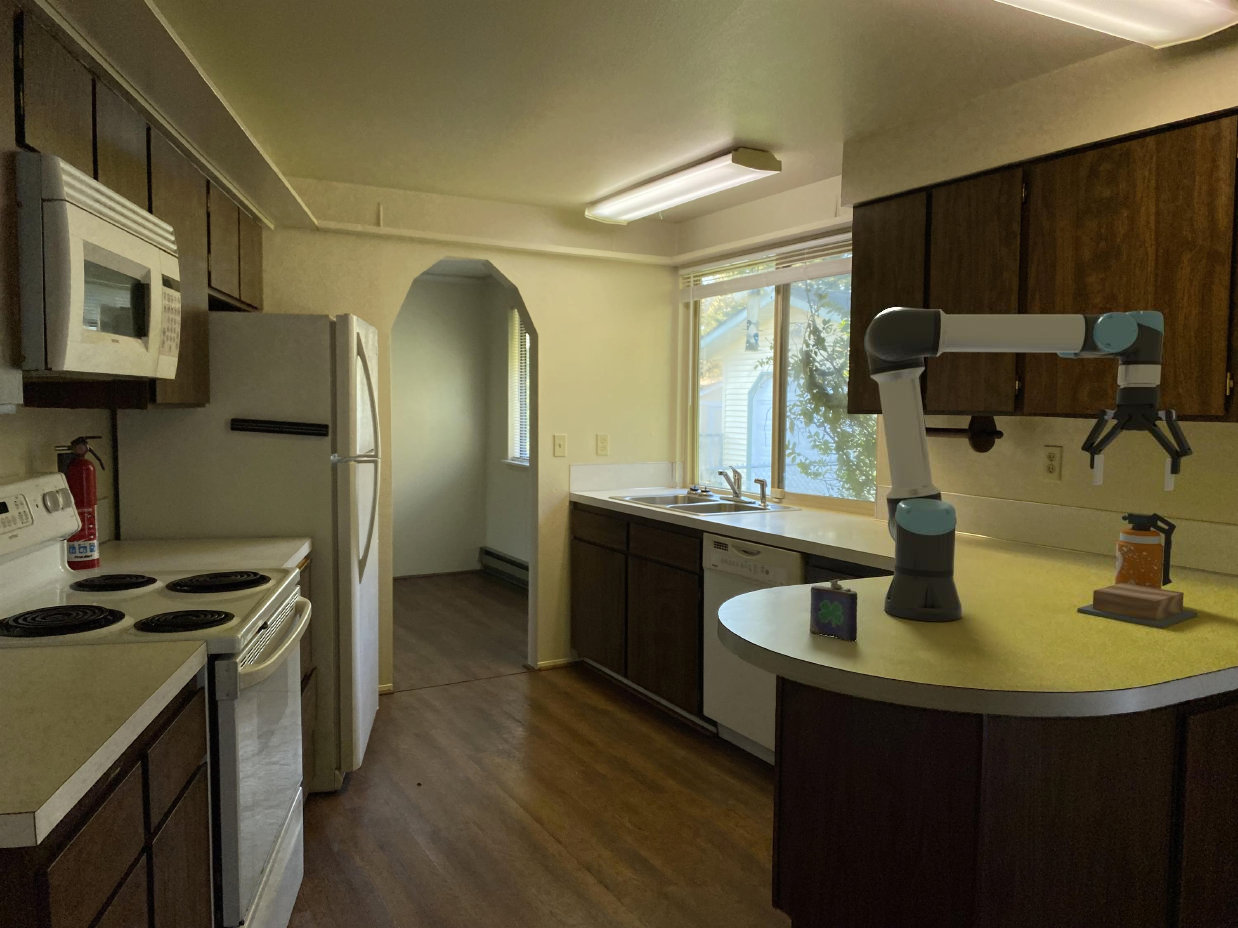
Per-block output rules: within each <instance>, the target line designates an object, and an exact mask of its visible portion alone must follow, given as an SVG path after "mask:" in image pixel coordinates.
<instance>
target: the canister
mask: <svg viewBox="0 0 1238 928" xmlns="http://www.w3.org/2000/svg"><path fill="white" fill-rule="evenodd" d="M1121 519H1122V520H1123V521H1126V522H1127V524H1128V525H1131V527H1125V528H1122V529H1121V531H1120V532H1119V533H1120V534H1119V540H1118V541H1117V542H1116V550H1115V551H1116V553H1115V571H1114V573H1115V574H1114V585H1116V584H1120V583H1126V584H1133V585H1139V586H1145V587H1151V588H1158V589H1162V587H1164V586H1168V585H1170V584H1172V583H1173V581H1172V580H1171V578H1170V574H1171V573H1170V570H1171V550H1172V547H1173V546H1172V545H1173V539H1172V536H1173V534H1174V532H1175V530H1176V528H1177V526H1176V524H1174V523H1173V522H1171V521H1169V520H1168V519H1166V518H1164V517H1163V516H1161V515H1160V514H1158V513H1156V512H1154V513H1152V514H1145V513H1144V514H1142V513H1133V512H1127V515H1126V514H1123V515H1121ZM1158 523H1161V524H1163V525H1164V526H1165V527H1164V526H1162V525H1160V524H1158ZM1166 527H1167V528H1166ZM1161 534H1163V535H1164V543H1163V544H1162V535H1161Z"/></svg>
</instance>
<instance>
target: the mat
mask: <svg viewBox="0 0 1238 928" xmlns="http://www.w3.org/2000/svg"><path fill="white" fill-rule="evenodd" d="M1076 612H1077V613H1081V614H1087V615H1091V616H1097V617H1102V618H1107V619H1110V620H1111V619H1112V620H1117V621H1123V622H1128V623H1133V624H1139V625H1142V626H1147V627H1148V626H1149V627H1154V628H1159V629H1164V628H1167V627H1170V626H1172V625H1176V624H1179V623H1182V622H1184V621H1187V620H1190V619H1192V618H1195V617H1198V611H1195V610H1193V611H1192V610H1188V609H1183V611H1182V612H1180V613H1177V614H1174V615H1171V616H1168V617H1165V618H1162V619H1159V620H1156V621H1154V620H1148V619H1143V618H1138V617H1132V616H1127V615H1122V614H1117V613H1111V612H1106V611H1101V610H1095V609H1093V603H1091V604H1087V605H1083V606H1081V607H1077V609H1076Z"/></svg>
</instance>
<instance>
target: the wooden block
mask: <svg viewBox="0 0 1238 928" xmlns="http://www.w3.org/2000/svg"><path fill="white" fill-rule="evenodd" d="M1092 593H1093V594H1092V596H1093V598H1092V604H1093V609H1095V610H1101V611H1106V612H1111V613H1117V614H1122V615H1127V616H1132V617H1138V618H1143V619H1148V620H1154V621H1156V620H1159V619H1162V618H1165V617H1168V616H1171V615H1174V614H1177V613H1180V612H1182V611H1183V610H1184V597H1185V596H1184V595H1185V594H1184V592H1183V591H1176V590H1175V591H1174V590H1169V589H1164V588H1163V589H1162V588H1161V589H1158V588H1151V587H1145V586H1139V585H1133V584H1126V583H1120V584H1116V585H1115V584H1114V585H1109V586H1105V587H1101V588H1098V589H1094V590H1093V592H1092Z"/></svg>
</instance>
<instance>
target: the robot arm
mask: <svg viewBox="0 0 1238 928" xmlns="http://www.w3.org/2000/svg"><path fill="white" fill-rule="evenodd" d="M1164 326H1165V325H1164V315H1163V313H1162V312H1160V311H1157V310H1137V311H1136V310H1135V311H1127V312H1121V311H1114V312H1113V311H1110V312H1107V313H1104V314H1098V313H1097V314H1091V313H1090V314H1080V313H1079V314H1077V313H1076V314H1071V313H1070V314H1068V313H1067V314H1061V313H1060V314H1058V313H1056V314H1055V313H1054V314H1049V313H1047V314H1044V313H1043V314H1042V313H1041V314H1039V313H1038V314H1036V313H1035V314H1033V313H1032V314H1030V313H1028V314H1025V313H1023V314H1021V313H1020V314H1019V313H1018V314H1009V313H1008V314H1001V313H1000V314H999V313H998V314H992V313H991V314H990V313H989V314H988V313H987V314H976V313H975V314H974V313H973V314H964V313H963V314H962V313H961V314H960V313H959V314H947V313H945V312H944V311H943V310H942V309H941V308H939V309H937V308H936V309H934V308H933V309H929V308H928V309H927V308H914V307H913V308H912V307H900V306H899V307H898V306H897V307H891V308H887V309H885V310H883V311H882V312H880V313H878V314H877V315H876V316H875V317H874V318H873V319H872V321H871V323H870V324H869V325H868V327H867V329H866V330H865V334H864V339H863V344H864V345H863V346H864V350H865V352H866V355H867V360H868V361H867V362H868V368H869V374H870V378H871V379H873V381H875V382H877V385H878V391H879V398H880V406H881V412H882V422H883V428H884V429H883V430H884V436H885V443H886V444H885V445H886V450H887V458H888V466H889V473H890V481H891V489H890V491H888V493H887V494H886V495H885V498H886V507H887V511H888V513H887V514H888V518H887V519H888V520H887V528H888V532H889V535H890V537H891V538H892V540H893V542H894V543H895V544H894V570H893V571H894V574H893V576H892V579H891V582H890V584H889V587H888V590H887V593H886V595H885V598H884V608H883V610H884V611H885V612H886V613H887V614H890V615H893V616H895V617H899V618H902V619H903V618H904V619H908V620H915V621H921V622H922V621H924V622H951V621H956V620H959V619H961V618H962V614H963V613H962V611H963V606H962V603H961V600H960V596H959V593H958V589H957V586H956V583H955V577H954V574H955V551H956V550H955V548H956V547H955V546H956V526H957V521H958V520H957V515H956V509H955V507H954V506H953V505H952V504H951V503H949V502H947V501H943V499H942V492H941V491H942V490H941V489H939V488H938V487H937V486H936V485H935V484H934V483H933V477H932V472H931V471H932V470H931V463H930V455H929V449H928V440H927V433H926V424H925V418H924V410H923V409H924V408H923V402H922V400H923V399H922V394H921V385H920V379H919V377H920V375H922V373H923V372H924V370H925V369H926V367H925V361H924V358H925V357H939V356H940V355H941V354H943V353H944V352H945V353H949V352H951V353H952V352H953V353H978V352H979V353H1056V354H1057V355H1058V356H1059V357H1061V358H1072V359H1078V358H1079V359H1084V358H1086V359H1087V358H1088V359H1090V358H1093V359H1094V358H1095V359H1096V358H1099V359H1100V358H1102V359H1103V358H1111V359H1115V358H1117V359H1118V365H1117V366H1118V371H1117V385H1119V386H1120V387H1118V388H1117V389H1116V403H1115V404H1116V408H1115V410H1110V409H1108V408H1105V409H1104V408H1102V409H1100V410H1098V411H1099V412H1098V417H1097V420H1096V421H1095V424H1094V425H1093V427H1092V428H1091V430H1090V432H1089V434H1088V435H1087V436H1086V439H1085V440H1084V442H1083V444H1082V445H1081V447H1080V449H1081V451H1083V452H1087V453H1088V454H1089V455H1090V456H1089V457H1090V458H1089V468H1090V470H1093V479H1092V480H1093V481H1092V482H1093V483H1092V485H1093V486H1100V485H1101V486H1102V485H1103V483H1104V482H1103V479H1104V465H1105V454H1102V452H1103V451H1104V450H1105V449H1106V448H1107V447H1108V446H1110V444H1111V443H1112V442H1113V441H1114V440H1115V439H1116V438H1117V437H1118V436H1119V435H1120V434H1122V433H1123V432H1124V431H1128V432H1129V431H1130V432H1131V431H1133V432H1134V431H1137V432H1146V431H1147V432H1148V433H1150V434H1151V436H1152V437H1153V439H1155V440H1156V441H1157V442H1158V444H1159V445H1160V446H1161V447H1162V449H1163V450H1164V451H1165V452H1166V453H1167V454H1168V455H1169V456H1170V457H1169V458H1166V459H1165V470H1164V472H1165V473H1164V484H1163V485H1164V486H1163V491H1167V492H1170V491H1174V489H1175V475H1180V473H1181V466H1182V465H1181V464H1182V459H1183V458H1185V457H1188V456H1192V455H1193V450H1192V448H1191V446H1190V444H1189V441H1188V440H1187V437H1186V436H1185V434H1184V431H1183V430H1182V428H1181V426H1180V424H1179V422H1178V418H1177V417H1178V415H1177V411H1176V409H1166V410H1160V408H1159V404H1160V392H1161V389H1160V388H1159V387H1157V385H1160V384H1161V372H1162V356H1163V355H1162V353H1163V342H1164V336H1165V331H1164V330H1165V329H1164ZM1113 417H1114V419H1115V420H1116V422H1115V424H1113V426H1112V427H1111V428H1110V430H1108V432H1106V433H1105V435H1104V436H1102V437H1101V438H1100V436H1101V435H1102V433H1103V431H1104V430H1105V428H1106V427H1107V425H1108V423H1109V422H1110V421H1109V420H1112V418H1113ZM1160 418H1161V419H1162V421H1164V422H1165V423H1166V427H1167V428H1168V430H1169V433H1170V434H1171V436H1172V439H1173V440H1174V442H1175V444H1176V446H1175V444H1174V443H1173V442H1172V441H1171V440H1170V438H1169V437H1168V436H1167V435H1166V434H1165V432H1163V431H1162V429H1161V427H1160V426H1159V425H1158V424H1157V421H1158V420H1159V419H1160ZM1099 438H1100V439H1099ZM1097 441H1098V442H1097Z"/></svg>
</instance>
